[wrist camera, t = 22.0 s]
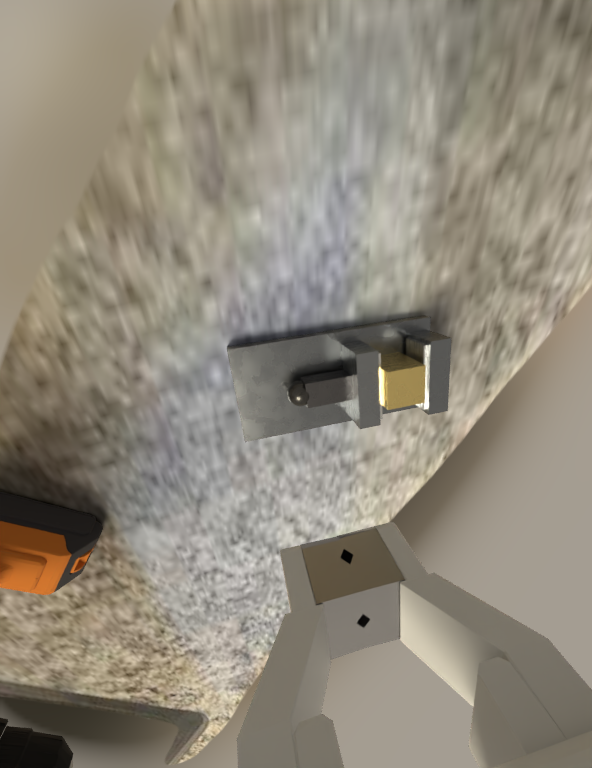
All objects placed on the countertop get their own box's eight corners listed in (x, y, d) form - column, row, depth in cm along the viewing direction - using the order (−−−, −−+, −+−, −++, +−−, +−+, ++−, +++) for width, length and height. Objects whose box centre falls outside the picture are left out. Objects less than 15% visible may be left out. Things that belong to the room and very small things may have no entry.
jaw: (279, 354, 39) (287, 366, 35) (364, 340, 41) (382, 350, 36) (289, 422, 43) (297, 442, 38) (367, 407, 44) (384, 424, 40)
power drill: (155, 529, 46) (86, 799, 23) (134, 569, 48) (49, 860, 24) (-30, 479, 39) (-399, 796, 16) (-48, 528, 40) (-409, 882, 17)
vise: (227, 346, 40) (227, 362, 34) (423, 315, 43) (456, 323, 37) (244, 436, 44) (247, 463, 38) (422, 400, 47) (450, 421, 41)
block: (365, 357, 42) (386, 372, 36) (399, 351, 42) (425, 365, 37) (366, 391, 43) (387, 410, 38) (399, 385, 44) (424, 402, 39)
